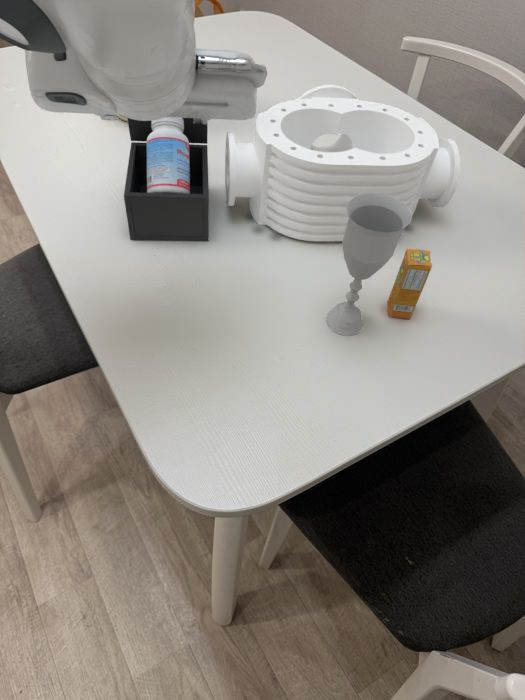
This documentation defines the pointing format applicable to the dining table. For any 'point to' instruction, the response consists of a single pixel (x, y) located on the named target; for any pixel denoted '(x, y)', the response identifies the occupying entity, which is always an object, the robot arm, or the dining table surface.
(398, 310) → the supplement box
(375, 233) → the chalice
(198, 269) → the dining table surface
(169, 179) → the pill bottle
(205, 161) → the box
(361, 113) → the housing
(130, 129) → the chamber lid
